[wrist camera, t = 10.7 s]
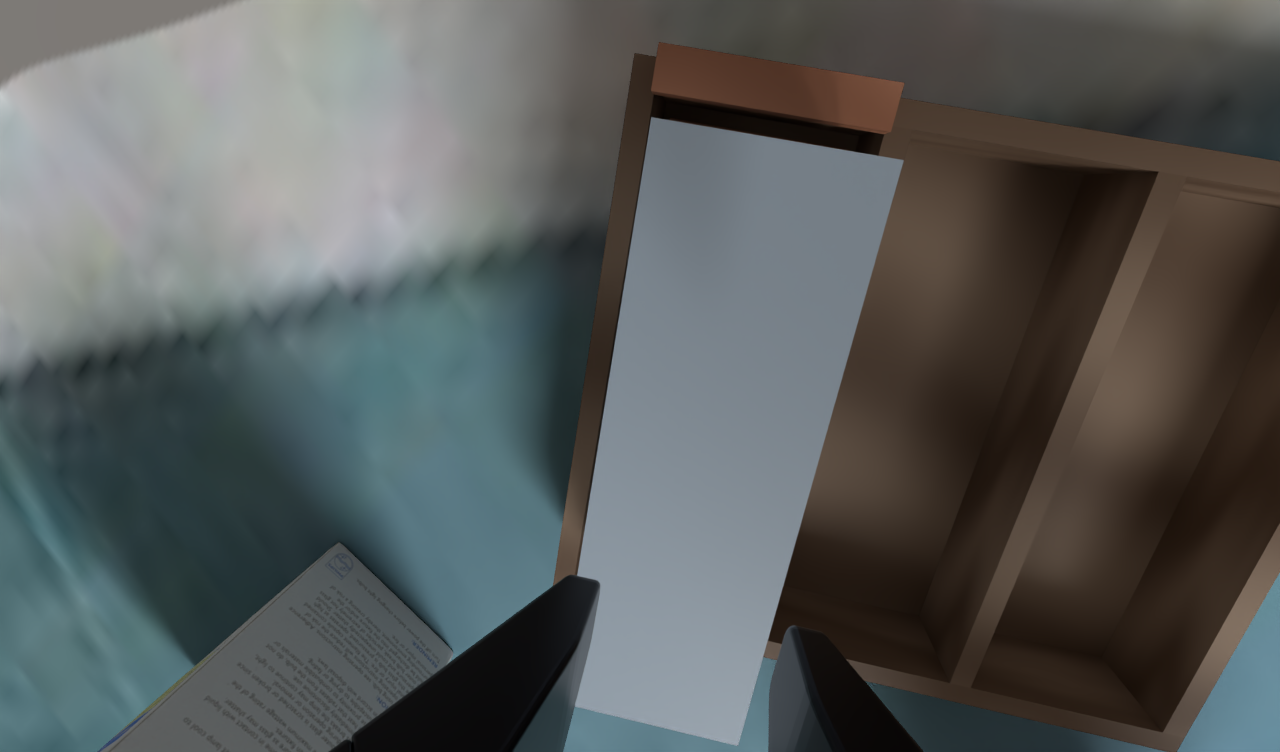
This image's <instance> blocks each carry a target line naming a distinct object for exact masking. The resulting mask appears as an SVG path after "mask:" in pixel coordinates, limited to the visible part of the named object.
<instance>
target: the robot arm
mask: <svg viewBox="0 0 1280 752" xmlns="http://www.w3.org/2000/svg"><path fill="white" fill-rule="evenodd" d="M599 595H600V583H599V582H598V581H597V580H594V579H590V578H585V577H581V576H577V575H568V576H566V577H565V578H563V579H562V580H560V581H559V582H558V583H556V584H555V585H554V586H552V587H551V588H550V589H548V590H547V591H546V592H544V593H543V594H542V595H540V596H539V597H537V598H536V599H535V600H533V601H532V602H531V603H529V604H528V605H527V606H525V607H524V608H523V609H521V610H520V611H519V612H517V613H516V614H514V615H513V616H512V617H510V618H509V619H508V620H506V621H505V622H504V623H502V624H501V625H500V626H498V627H497V628H496V629H494V630H493V631H491V632H490V633H489V634H487V635H486V636H485V637H483V638H482V639H481V640H479V641H478V642H477V643H475V644H474V645H473V646H471V647H470V648H468V649H467V650H466V651H464V652H463V653H462V654H460V655H459V656H458V657H456V658H455V659H454V660H452V661H451V662H450V663H448V664H447V665H445V666H444V667H443V668H441V669H440V670H439V671H437V672H436V673H435V674H433V675H432V676H431V677H429V678H428V679H427V680H425V681H424V682H422V683H421V684H420V685H418V686H417V687H416V688H414V689H413V690H412V691H410V692H409V693H408V694H406V695H405V696H404V697H402V698H401V699H399V700H398V701H397V702H395V703H394V704H393V705H391V706H390V707H389V708H387V709H386V710H385V711H383V712H382V713H381V714H379V715H378V716H376V717H375V718H374V719H372V720H371V721H370V722H368V723H367V724H366V725H364V726H363V727H362V728H360V729H359V730H358V731H356V732H355V733H354V734H353V735H352V737H351V741H350V740H348V739H346V740H343V741H342V742H341V743H339V744H338V745H337V746H335V747H334V748H333V749H331V750H330V751H329V752H563V750H564V746H565V742H566V738H567V734H568V730H569V726H570V722H571V719H572V715H573V711H574V707H575V703H576V699H577V695H578V691H579V688H580V684H581V680H582V676H583V672H584V668H585V664H586V660H587V656H588V652H589V648H590V644H591V639H592V634H593V628H594V623H595V617H596V612H597V606H598V600H599ZM768 752H923V750H922V749H921V748H920V747H919V746H918V744H917V743H916V742H915V741H914V740H913V738H912V737H911V736H910V735H909V734H908V732H907V731H906V730H905V729H904V728H903V726H902V725H901V724H900V723H899V722H898V720H897V719H896V718H895V717H894V716H893V715H892V713H891V712H890V711H889V710H888V709H887V707H886V706H885V705H884V704H883V703H882V701H881V700H880V699H879V698H878V697H877V695H876V694H875V693H874V692H873V691H872V689H871V688H870V687H869V686H868V685H867V683H866V682H865V681H864V680H863V679H862V677H861V676H860V675H859V674H858V673H857V671H856V670H855V669H854V668H853V667H852V666H851V664H850V663H849V662H848V661H847V660H846V658H845V657H844V656H843V655H842V654H841V652H840V651H839V650H838V649H837V648H836V646H835V645H834V644H833V643H832V642H831V640H830V639H829V638H828V637H827V636H826V635H825V634H824V633H823V632H821V631H817V630H813V629H808V628H804V627H800V626H795V625H793V626H790V627H789V628H788V629H787V631H786V633H785V635H784V639H783V642H782V645H781V649H780V652H779V655H778V659H777V662H776V666H775V669H774V672H773V676H772V680H771V685H770V693H769V746H768Z"/></svg>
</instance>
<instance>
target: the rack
mask: <svg viewBox="0 0 1280 752" xmlns="http://www.w3.org/2000/svg"><path fill="white" fill-rule="evenodd" d="M903 87H904V83H902V82H896V81H890V80H884V79H878V78H872V77H866V76H860V75H854V74H848V73H842V72H836V71H830V70H824V69H818V68H812V67H806V66H800V65H794V64H788V63H782V62H776V61H770V60H764V59H758V58H752V57H746V56H740V55H734V54H728V53H721V52H715V51H709V50H703V49H697V48H691V47H685V46H679V45H673V44H667V43H661V42H659V44H658V51H657V57H654V56H648V55H642V54H636V53H635V54H634V60H633V67H632V73H631V80H630V86H629V93H628V99H627V106H626V112H625V119H624V125H623V132H622V138H621V145H620V152H619V158H618V165H617V171H616V178H615V184H614V191H613V197H612V204H611V210H610V217H609V223H608V230H607V236H606V243H605V250H604V256H603V263H602V269H601V276H600V282H599V289H598V295H597V302H596V308H595V315H594V321H593V328H592V334H591V341H590V348H589V354H588V361H587V367H586V374H585V380H584V387H583V393H582V400H581V406H580V413H579V419H578V426H577V432H576V439H575V446H574V452H573V459H572V465H571V472H570V478H569V485H568V491H567V498H566V504H565V511H564V517H563V524H562V530H561V537H560V543H559V550H558V557H557V563H556V570H555V576H554V583H553V586H554V585H555V584H556V583H558V582H559V581H560V580H562V579H563V578H565V577H566V576H568V575H577V574H578V568H579V561H580V555H581V549H582V543H583V537H584V531H585V524H586V518H587V512H588V506H589V500H590V493H591V487H592V481H593V475H594V469H595V463H596V456H597V450H598V444H599V438H600V432H601V425H602V419H603V413H604V407H605V401H606V395H607V388H608V382H609V376H610V370H611V364H612V358H613V351H614V345H615V339H616V333H617V327H618V320H619V314H620V308H621V302H622V296H623V290H624V283H625V277H626V271H627V265H628V259H629V252H630V246H631V240H632V234H633V228H634V222H635V215H636V209H637V203H638V197H639V191H640V185H641V178H642V172H643V166H644V160H645V154H646V147H647V141H648V135H649V129H650V123H651V117H654V118H660V119H665V120H671V121H677V122H683V123H689V124H695V125H700V126H706V127H712V128H718V129H724V130H730V131H736V132H741V133H747V134H753V135H759V136H765V137H771V138H777V139H782V140H788V141H794V142H800V143H806V144H812V145H818V146H823V147H829V148H835V149H841V150H847V151H853V152H859V153H864V154H870V155H876V156H882V157H888V158H894V159H900V160H904V161H903V165H902V168H901V172H900V176H899V179H898V183H897V186H896V190H895V193H894V197H893V200H892V204H891V207H890V211H889V214H888V218H887V221H886V225H885V228H884V232H883V236H882V239H881V243H880V246H879V250H878V253H877V257H876V260H875V264H874V267H873V271H872V274H871V278H870V281H869V285H868V288H867V292H866V296H865V299H864V303H863V306H862V310H861V313H860V317H859V320H858V324H857V327H856V331H855V334H854V338H853V341H852V345H851V348H850V352H849V356H848V359H847V363H846V366H845V370H844V373H843V377H842V380H841V384H840V387H839V391H838V394H837V398H836V401H835V405H834V408H833V412H832V416H831V419H830V423H829V426H828V430H827V433H826V437H825V440H824V444H823V447H822V451H821V454H820V458H819V461H818V465H817V468H816V472H815V476H814V479H813V483H812V486H811V490H810V493H809V497H808V500H807V504H806V507H805V511H804V514H803V518H802V521H801V525H800V528H799V532H798V536H797V539H796V543H795V546H794V550H793V553H792V557H791V560H790V564H789V567H788V571H787V574H786V578H785V581H784V585H783V588H782V592H781V596H780V599H779V603H778V606H777V610H776V613H775V617H774V620H773V624H772V627H771V631H770V634H769V638H768V641H767V645H766V648H765V652H764V656H763V657H765V658H770V659H774V660H777V659H778V655H779V652H780V649H781V645H782V642H783V639H784V635H785V633H786V631H787V629H788V628H789V627H790V626H793V625H795V626H800V627H804V628H808V629H813V630H817V631H821V632H823V633H824V634H825V635H826V636H827V637H828V638H829V639H830V640H831V642H832V643H833V644H834V645H835V646H836V648H837V649H838V650H839V651H840V652H841V654H842V655H843V656H844V657H845V658H846V660H847V661H848V662H849V663H850V664H851V666H852V667H853V668H854V669H855V670H856V671H857V673H858V674H859V675H860V676H861V677H862V679H863V680H864V681H868V682H872V683H876V684H881V685H885V686H889V687H893V688H898V689H902V690H906V691H910V692H915V693H919V694H923V695H928V696H932V697H936V698H940V699H945V700H949V701H953V702H957V703H962V704H966V705H970V706H974V707H979V708H983V709H987V710H992V711H996V712H1000V713H1004V714H1009V715H1013V716H1017V717H1021V718H1026V719H1030V720H1034V721H1038V722H1043V723H1047V724H1051V725H1056V726H1060V727H1064V728H1068V729H1073V730H1077V731H1081V732H1085V733H1090V734H1094V735H1098V736H1103V737H1107V738H1111V739H1115V740H1120V741H1124V742H1128V743H1132V744H1137V745H1141V746H1145V747H1149V748H1154V749H1158V750H1162V751H1167V752H1177V750H1178V748H1179V747H1180V745H1181V743H1182V741H1183V740H1184V738H1185V736H1186V734H1187V733H1188V731H1189V729H1190V728H1191V726H1192V724H1193V722H1194V721H1195V719H1196V717H1197V715H1198V714H1199V712H1200V710H1201V708H1202V707H1203V705H1204V703H1205V701H1206V700H1207V698H1208V696H1209V694H1210V693H1211V691H1212V689H1213V687H1214V686H1215V684H1216V682H1217V681H1218V679H1219V677H1220V675H1221V674H1222V672H1223V670H1224V668H1225V667H1226V665H1227V663H1228V661H1229V660H1230V658H1231V656H1232V654H1233V653H1234V651H1235V649H1236V647H1237V646H1238V644H1239V642H1240V640H1241V639H1242V637H1243V635H1244V633H1245V632H1246V630H1247V628H1248V627H1249V625H1250V623H1251V621H1252V620H1253V618H1254V616H1255V614H1256V613H1257V611H1258V609H1259V607H1260V606H1261V604H1262V602H1263V600H1264V599H1265V597H1266V595H1267V593H1268V592H1269V590H1270V588H1271V586H1272V585H1273V583H1274V581H1275V580H1276V578H1277V576H1278V574H1279V573H1280V161H1274V160H1268V159H1262V158H1256V157H1250V156H1244V155H1238V154H1232V153H1226V152H1220V151H1214V150H1209V149H1203V148H1197V147H1191V146H1185V145H1179V144H1173V143H1167V142H1161V141H1155V140H1149V139H1143V138H1137V137H1131V136H1125V135H1119V134H1113V133H1107V132H1101V131H1095V130H1089V129H1083V128H1077V127H1071V126H1065V125H1060V124H1054V123H1048V122H1042V121H1036V120H1030V119H1024V118H1018V117H1012V116H1006V115H1000V114H994V113H988V112H982V111H976V110H970V109H964V108H958V107H952V106H946V105H940V104H934V103H928V102H922V101H917V100H911V99H905V98H901V94H902V90H903Z"/></svg>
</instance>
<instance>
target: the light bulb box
mask: <svg viewBox="0 0 1280 752" xmlns="http://www.w3.org/2000/svg"><path fill="white" fill-rule="evenodd" d="M452 656H453V652H452V650H451V649H450V648H449V647H448V646H447V645H446V644H445V643H444V642H443V641H442V640H441V639H440V638H439V637H438V636H437V635H436V634H435V633H434V632H433V631H432V630H431V629H430V628H429V627H428V626H427V625H426V624H425V623H424V622H423V621H422V620H421V619H419V618H418V617H417V616H416V615H415V614H414V613H413V612H412V611H411V610H410V609H409V608H408V607H407V606H406V605H405V604H404V603H403V602H402V601H401V600H400V599H399V598H398V597H397V596H396V595H395V594H394V593H392V592H391V591H390V590H389V589H388V588H387V587H386V586H385V585H384V584H383V583H382V582H381V581H380V580H379V579H378V578H377V577H376V576H375V575H374V574H373V573H372V572H371V571H370V570H368V569H367V568H366V567H365V566H364V565H363V564H362V563H361V562H360V561H359V560H358V559H357V558H356V557H355V556H354V555H353V554H352V553H351V552H350V551H349V550H348V549H347V548H346V547H345V546H344V545H342V544H341V543H337V544H336V545H335V546H333V547H332V548H331V549H329V550H328V551H327V552H326V553H325V554H324V555H322V556H321V557H320V558H319V559H318V560H317V561H315V562H314V563H313V564H312V565H311V566H310V567H308V568H307V569H306V570H305V571H304V572H303V573H301V574H300V575H299V576H298V577H297V578H296V579H294V580H293V581H292V582H291V583H290V584H289V585H288V586H286V587H285V588H284V589H283V590H282V591H281V592H280V593H278V594H277V595H276V596H275V597H274V598H273V599H271V600H270V601H269V602H268V603H267V604H266V605H264V606H263V607H262V608H261V609H260V610H259V611H258V612H256V613H255V614H254V615H253V616H252V617H251V618H250V619H248V620H247V621H246V622H245V623H244V624H243V625H242V626H240V627H239V628H238V629H237V630H236V631H235V632H234V633H232V634H231V635H230V636H229V637H228V638H227V639H225V640H224V641H223V642H222V643H221V644H220V645H219V646H217V647H216V648H215V649H214V650H213V651H212V652H211V653H209V654H208V655H207V656H206V657H205V658H204V659H203V660H201V661H200V662H199V663H198V664H197V665H196V666H195V667H193V668H192V669H191V670H190V671H189V672H188V673H186V674H185V675H184V676H183V677H182V678H181V679H180V680H178V681H177V682H176V683H175V684H174V685H173V686H172V687H170V688H169V689H168V690H167V691H166V692H165V693H164V694H162V695H161V696H160V697H159V698H158V699H157V700H156V701H154V702H153V703H152V704H151V705H150V706H149V707H148V708H146V709H145V710H144V711H143V712H142V713H141V714H140V715H138V716H137V717H136V718H135V719H134V720H133V721H131V722H130V723H129V724H128V725H127V726H126V727H125V728H124V729H122V730H121V731H120V732H119V733H118V734H117V735H116V736H115V737H113V738H112V739H111V740H110V741H109V742H108V743H107V744H106V745H104V746H103V747H102V748H101V749H100V750H99V751H98V752H329V751H330V750H331V749H333V748H334V747H335V746H337V745H338V744H339V743H341V742H342V741H343V740H346V739H348V740H350V741H351V737H352V735H353V734H354V733H355V732H356V731H358V730H359V729H360V728H362V727H363V726H364V725H366V724H367V723H368V722H370V721H371V720H372V719H374V718H375V717H376V716H378V715H379V714H381V713H382V712H383V711H385V710H386V709H387V708H389V707H390V706H391V705H393V704H394V703H395V702H397V701H398V700H399V699H401V698H402V697H404V696H405V695H406V694H408V693H409V692H410V691H412V690H413V689H414V688H416V687H417V686H418V685H420V684H421V683H422V682H424V681H425V680H427V679H428V678H429V677H431V676H432V675H433V674H435V673H436V672H437V671H439V670H440V669H441V668H443V667H444V666H445V665H447V664H448V663H449V661H450V660H451V658H452Z"/></svg>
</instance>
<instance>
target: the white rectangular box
mask: <svg viewBox="0 0 1280 752" xmlns="http://www.w3.org/2000/svg"><path fill="white" fill-rule="evenodd" d="M903 161H904V160H900V159H894V158H888V157H882V156H876V155H870V154H864V153H859V152H853V151H847V150H841V149H835V148H829V147H823V146H818V145H812V144H806V143H800V142H794V141H788V140H782V139H777V138H771V137H765V136H759V135H753V134H747V133H741V132H736V131H730V130H724V129H718V128H712V127H706V126H700V125H695V124H689V123H683V122H677V121H671V120H665V119H660V118H654V117H651V123H650V129H649V135H648V141H647V147H646V154H645V160H644V166H643V172H642V178H641V185H640V191H639V197H638V203H637V209H636V215H635V222H634V228H633V234H632V240H631V246H630V252H629V259H628V265H627V271H626V277H625V283H624V290H623V296H622V302H621V308H620V314H619V320H618V327H617V333H616V339H615V345H614V351H613V358H612V364H611V370H610V376H609V382H608V388H607V395H606V401H605V407H604V413H603V419H602V425H601V432H600V438H599V444H598V450H597V456H596V463H595V469H594V475H593V481H592V487H591V493H590V500H589V506H588V512H587V518H586V524H585V531H584V537H583V543H582V549H581V555H580V561H579V568H578V574H577V576H581V577H585V578H590V579H594V580H597V581H598V582H599V583H600V595H599V600H598V606H597V612H596V617H595V623H594V628H593V634H592V639H591V644H590V648H589V652H588V656H587V660H586V664H585V668H584V672H583V676H582V680H581V684H580V688H579V691H578V695H577V699H576V703H575V707H579V708H584V709H588V710H592V711H596V712H600V713H604V714H608V715H612V716H617V717H621V718H625V719H629V720H633V721H637V722H641V723H645V724H650V725H654V726H658V727H662V728H666V729H670V730H674V731H679V732H683V733H687V734H691V735H695V736H699V737H703V738H707V739H712V740H716V741H720V742H724V743H728V744H732V745H736V746H738V744H739V740H740V737H741V733H742V730H743V726H744V723H745V719H746V715H747V712H748V708H749V705H750V701H751V698H752V694H753V691H754V687H755V684H756V680H757V677H758V673H759V670H760V666H761V663H762V659H763V656H764V652H765V648H766V645H767V641H768V638H769V634H770V631H771V627H772V624H773V620H774V617H775V613H776V610H777V606H778V603H779V599H780V596H781V592H782V588H783V585H784V581H785V578H786V574H787V571H788V567H789V564H790V560H791V557H792V553H793V550H794V546H795V543H796V539H797V536H798V532H799V528H800V525H801V521H802V518H803V514H804V511H805V507H806V504H807V500H808V497H809V493H810V490H811V486H812V483H813V479H814V476H815V472H816V468H817V465H818V461H819V458H820V454H821V451H822V447H823V444H824V440H825V437H826V433H827V430H828V426H829V423H830V419H831V416H832V412H833V408H834V405H835V401H836V398H837V394H838V391H839V387H840V384H841V380H842V377H843V373H844V370H845V366H846V363H847V359H848V356H849V352H850V348H851V345H852V341H853V338H854V334H855V331H856V327H857V324H858V320H859V317H860V313H861V310H862V306H863V303H864V299H865V296H866V292H867V288H868V285H869V281H870V278H871V274H872V271H873V267H874V264H875V260H876V257H877V253H878V250H879V246H880V243H881V239H882V236H883V232H884V228H885V225H886V221H887V218H888V214H889V211H890V207H891V204H892V200H893V197H894V193H895V190H896V186H897V183H898V179H899V176H900V172H901V168H902V165H903Z"/></svg>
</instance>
